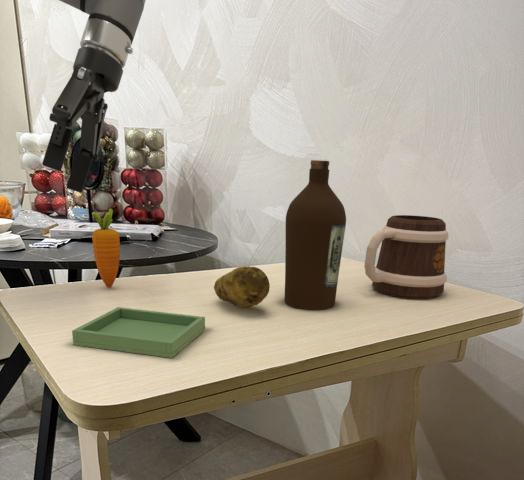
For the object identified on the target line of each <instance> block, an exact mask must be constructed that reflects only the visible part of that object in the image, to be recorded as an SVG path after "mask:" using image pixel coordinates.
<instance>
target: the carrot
mask: <svg viewBox="0 0 524 480" xmlns="http://www.w3.org/2000/svg"><path fill="white" fill-rule="evenodd" d="M113 214H114V210H113V208H109V209H108V212H106V213H105V215H104V217H103V218H101V216H100V214H98V212H96V211H93V212H92V213H91V215H92V217H93V218H94V219H95V221H96V222H97V224H98V226H99V228H97V229H95V230H94V231H92V233H91V239H92V248H93V255H94V256H93V257H94V261H95V264H96V268H97V272H98V274H99V276H100V278H101V280H102V282H103V283H104V285H105V287H107V288H108V289H111V288H112V287H113V285H114V284H115V281H116V278H117V276H118V273H119V267H120V258H121V242H120V241H121V239H120V233H119V231H118V230H116V229H114V228H110V226H111V224H112V223H113V221H114V220H113V219H112V218H113Z"/></svg>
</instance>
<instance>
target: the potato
mask: <svg viewBox="0 0 524 480" xmlns="http://www.w3.org/2000/svg"><path fill="white" fill-rule="evenodd" d="M270 285H271V284H270V280H269V278H268V276H267V274H266V273H265V272H264V271H263V270H262V269H261V268H259V267H256V266H249V265H248V266H245V265H244V266H238V267H235V268H233V269H232V270H231V271H229V272H227V273H225V274H223V275H222V276H220V277H219V278H217V279H216V281H215V282H214V286H213V289H214V292H215V295H216V296H217V297H218V299H219V300H221V301H223V302H227V303H229V304H231V305H233V306H234V307H239V308H252V307H254V306H258V305H259V304H261V303H262V302H263V301H264V299H266V298H267V297H268V294H269V292H270V288H271V287H270Z"/></svg>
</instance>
